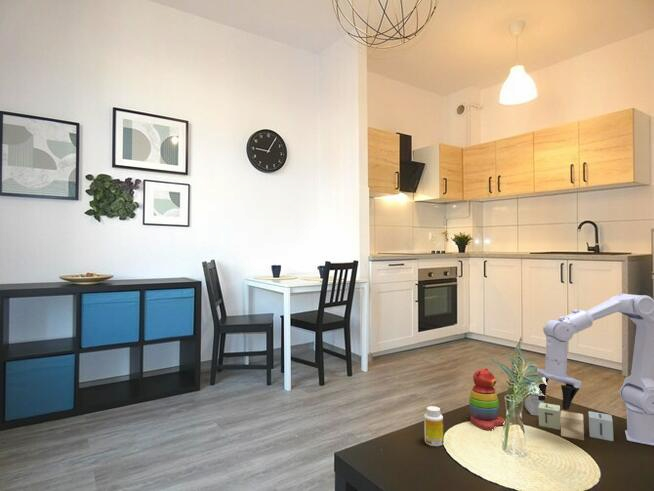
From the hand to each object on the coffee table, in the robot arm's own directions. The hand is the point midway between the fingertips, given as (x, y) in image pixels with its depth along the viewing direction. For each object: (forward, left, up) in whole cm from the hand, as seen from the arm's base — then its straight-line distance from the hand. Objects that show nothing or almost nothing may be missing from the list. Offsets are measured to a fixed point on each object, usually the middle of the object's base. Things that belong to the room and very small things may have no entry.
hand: (553, 404), depth 120 cm
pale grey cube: (-12, -12, -11) cm, 20 cm away
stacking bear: (+20, -3, -11) cm, 23 cm away
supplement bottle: (+30, +21, -11) cm, 39 cm away
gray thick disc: (+7, -23, -11) cm, 26 cm away
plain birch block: (-5, -8, -11) cm, 14 cm away
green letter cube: (+2, -13, -11) cm, 17 cm away
